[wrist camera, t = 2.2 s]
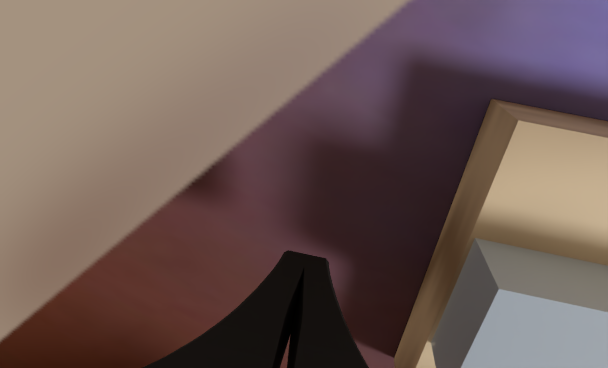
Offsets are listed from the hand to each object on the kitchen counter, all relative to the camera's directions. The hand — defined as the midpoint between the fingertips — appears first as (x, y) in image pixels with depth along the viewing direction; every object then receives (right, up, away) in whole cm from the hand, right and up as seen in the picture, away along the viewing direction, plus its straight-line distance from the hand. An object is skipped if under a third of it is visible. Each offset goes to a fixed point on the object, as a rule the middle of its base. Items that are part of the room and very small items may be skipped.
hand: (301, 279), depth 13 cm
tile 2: (+7, -1, 0) cm, 7 cm away
